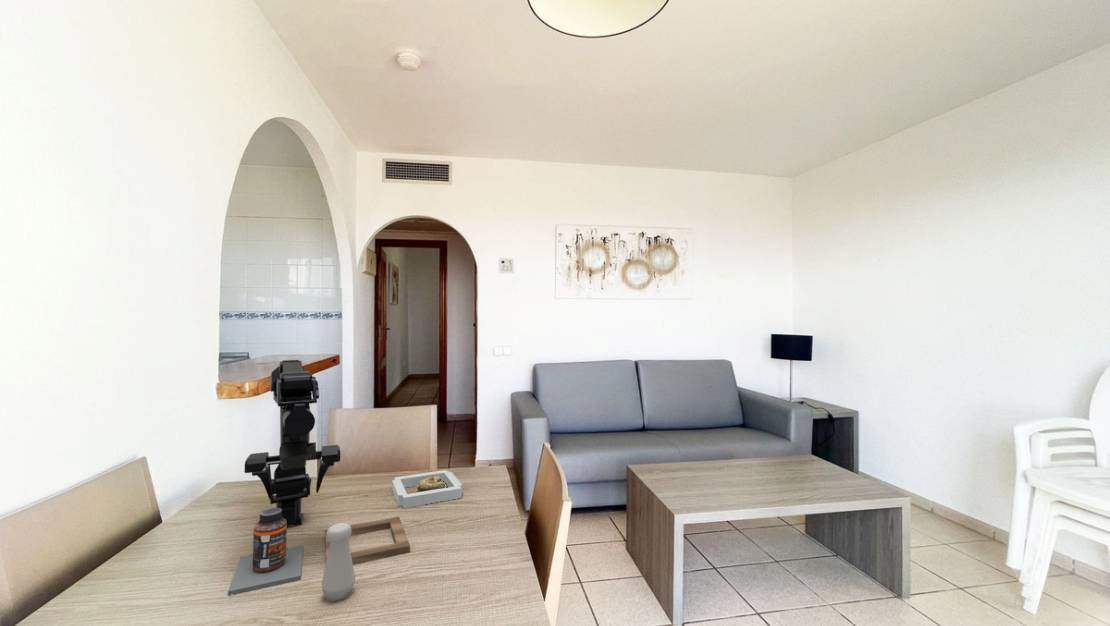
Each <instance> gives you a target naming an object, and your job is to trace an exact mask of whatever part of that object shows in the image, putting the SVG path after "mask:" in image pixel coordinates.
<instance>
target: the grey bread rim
mask: <svg viewBox="0 0 1110 626" xmlns="http://www.w3.org/2000/svg"><path fill="white" fill-rule="evenodd" d="M432 475H433V476H434V477H435V476H436V477H441V481H444V482H445V483H446V484H447V486H448V488H442V489H436V490H429V491H423V492H417V491H416V492H412V493H407V491H406V489H407V488H406V487H409V488H413V487H412V486H415V487H418V486H417V485H418V484H419V482H420V481H421V480H423V479H427V478H430V477H432ZM444 482H443V483H444ZM445 483H444V484H445ZM446 484H445V485H446ZM447 486H446V487H447ZM463 489H464V488H463V484H462V483H461V481H460V480H459V479H458V477H456V475H455V474H454V473H453V472H452V471H448V470H447V469H445V470H444V469H443V470H437V471H431V472H422V473H417V474H410V475H409V474H407V475H402V476H395V477H394V479H392V480H391V491H393V492H392V494H393V496H394V499H395V501H396V504H397V506H398V507H402V509H403V510H404V509H409V507H410V508H414V506H416V507H420V506H419V505H422V506H426V505H425V504H428V505H431V504H430V503H433V504H436V503H435V502H439V503H441V502H440V501H445V500H450V501H453V500H452V499H456V500H459V499H458V498H461V499H462V496H463V495H462V494H463ZM445 502H446V501H445Z"/></svg>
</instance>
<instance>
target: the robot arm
mask: <svg viewBox="0 0 1110 626" xmlns="http://www.w3.org/2000/svg"><path fill="white" fill-rule="evenodd" d="M302 365H303V364H302V360H299V359H288V360H287V359H285V360H284V359H283V360H282V361H279V365H278V366H277V367H276V368H275V369H274V370H272V371H271V373H270V387H269V388H270V393H271V392H273V393H272V395H273V401H274V402H275V403H276V404H277V407H279V421H280V422H279V423H280V424H279V437H280V438H279V439H280V440H279V441H280V442H279V443H280V446H279V451H278V452H279V454H278V455H271V456H270V455H269V454H270V453H269V452H268V451H266V452H265V451H263V452H256V453H250V454H249V455H248V456H247V457H246V459H245V461H244V473H245V474H250V473H251V475H252V476H253V477H255V476H257V477H258V478H259V479H260V481H261V482H262V484H263V486H264V489H265V491H266V495H267V496H268V499H269V503H270V505H274V504H275V508H281V509H282V517H283V518H284V519H286V521H287V528H289V527H293V526H299V525H303V523H304V522H303V521H304V512H302V505H303V504H302V499H304V498H309V496H310V495H311V487H312V478H311V477H310V475H309V473H307V469H306V466H307V461H314V460H319V466H318V472H317V473H318V474H317V479H316V483H315V485H316V488H315V491H316V492H315V493H316V494H318V493H319V492H320V488H321V486H322V483H323V479H324V477H325V475H326V473H327V471H328V470H329V468H330V467H333V466H334V465H335V463H338V462H341V447H340V446H339V445H338V444H333V445H332V444H331V445H323V446H321V450H317V442H315V441H314V442H310V436H311V434H310V433H311V432H312V430H313V429H314V427H315V425H316V418H315V416H314V413H312V411H311V405H310V404H317V403H318V399H319V398H320V390H319V381H318V380H317V377H316V376H313V373H312V372H311V371H309V370H308V371H307V370H306V369H305V368H304V367H303V366H302ZM271 465H277V466H276V468H275V470H274V472H273V478H272V472H271V471H272V469H271Z"/></svg>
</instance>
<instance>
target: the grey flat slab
mask: <svg viewBox="0 0 1110 626" xmlns="http://www.w3.org/2000/svg"><path fill="white" fill-rule="evenodd" d="M303 558H304V544H301V545H296V546H291V547H286V560H285V563H284V564H283V565H282V566H280V567H279V568H277V569H275V570H272V571H268V572H257V571H255V570H253V567H252V566H253V565H252V562H253V554H249V555H244V556H240V557H239V560H238V563H237V565H236V568H235V571H234V573H233V576H232V579H231V583H230V584H229V587H228V590H227V596H228V595H229V596H232V595H231V594H233V595H238V594H243V593H246V592H251V591H256V590H260V589H264V588H269V587H273V586H274V587H275V586H278V585H282V584H286V583H291V582H296V581H300V580H302V569H303ZM242 592H243V593H242ZM237 593H238V594H237Z"/></svg>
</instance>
